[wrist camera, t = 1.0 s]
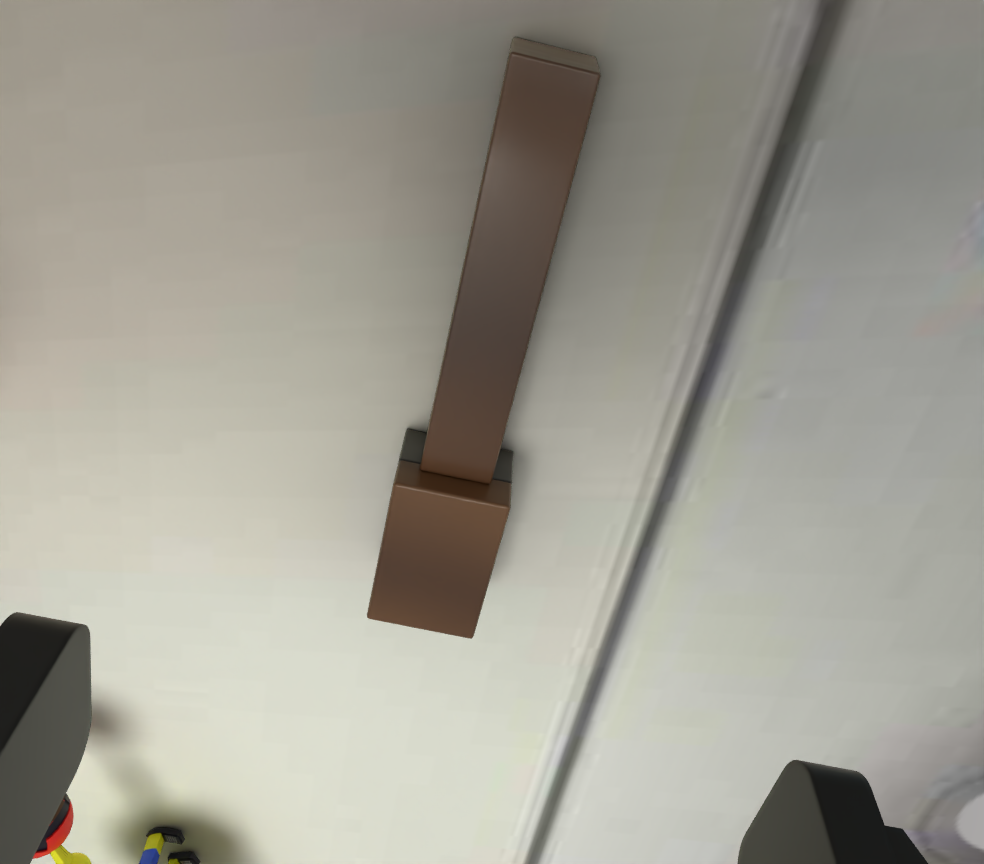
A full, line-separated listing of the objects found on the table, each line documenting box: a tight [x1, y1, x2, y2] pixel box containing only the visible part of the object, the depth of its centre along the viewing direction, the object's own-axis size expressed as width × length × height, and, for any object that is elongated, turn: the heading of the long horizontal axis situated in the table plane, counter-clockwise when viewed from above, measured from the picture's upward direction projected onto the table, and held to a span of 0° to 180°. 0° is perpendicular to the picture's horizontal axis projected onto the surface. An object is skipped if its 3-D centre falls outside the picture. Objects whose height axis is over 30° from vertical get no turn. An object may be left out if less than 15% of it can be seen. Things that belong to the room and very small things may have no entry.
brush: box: [367, 37, 601, 638], centre depth 24 cm, size 16×3×3 cm, turn 168°
